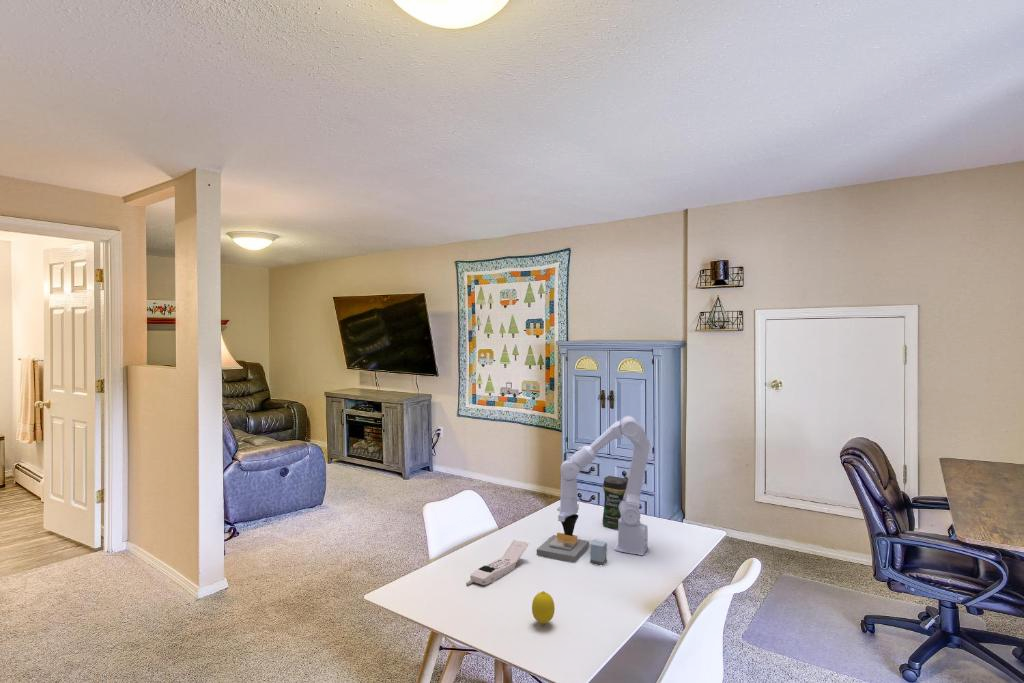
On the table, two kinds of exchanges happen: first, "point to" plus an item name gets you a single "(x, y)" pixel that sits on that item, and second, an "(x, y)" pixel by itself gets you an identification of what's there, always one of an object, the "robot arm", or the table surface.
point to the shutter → (564, 541)
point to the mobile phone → (499, 565)
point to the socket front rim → (578, 540)
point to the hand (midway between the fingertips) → (568, 536)
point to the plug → (598, 552)
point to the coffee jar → (613, 499)
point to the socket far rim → (550, 539)
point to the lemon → (543, 607)
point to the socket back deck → (559, 553)
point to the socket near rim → (582, 546)
